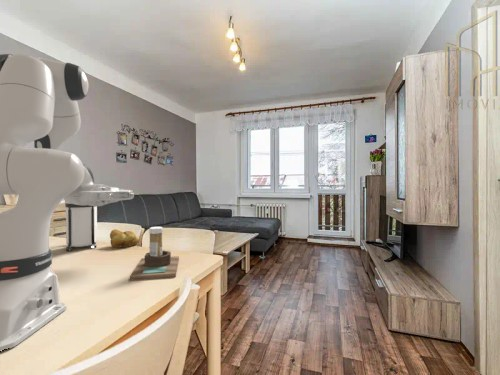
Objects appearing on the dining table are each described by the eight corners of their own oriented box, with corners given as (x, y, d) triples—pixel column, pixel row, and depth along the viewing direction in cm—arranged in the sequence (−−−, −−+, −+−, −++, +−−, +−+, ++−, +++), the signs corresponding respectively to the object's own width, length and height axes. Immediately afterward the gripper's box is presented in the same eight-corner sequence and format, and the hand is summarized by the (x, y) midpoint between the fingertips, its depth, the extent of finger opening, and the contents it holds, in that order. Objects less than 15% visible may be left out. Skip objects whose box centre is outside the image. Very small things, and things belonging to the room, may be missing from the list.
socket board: (175, 276, 82) (175, 262, 82) (129, 280, 79) (129, 265, 79) (178, 259, 100) (178, 247, 100) (141, 261, 97) (141, 249, 97)
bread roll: (139, 242, 127) (139, 226, 127) (139, 247, 119) (139, 230, 118) (110, 245, 122) (110, 228, 121) (108, 250, 113) (108, 232, 113)
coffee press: (109, 244, 123) (109, 183, 122) (78, 253, 107) (78, 183, 107) (83, 241, 128) (83, 183, 127) (50, 249, 113) (49, 183, 112)
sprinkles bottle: (165, 263, 91) (165, 227, 91) (154, 267, 87) (154, 229, 87) (157, 261, 94) (157, 225, 93) (146, 264, 90) (146, 227, 90)
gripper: (70, 187, 90) (96, 187, 85) (119, 187, 109) (143, 187, 104) (70, 204, 90) (96, 206, 85) (119, 201, 109) (143, 202, 104)
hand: (122, 195), depth 95 cm, fingers open, 8 cm apart
